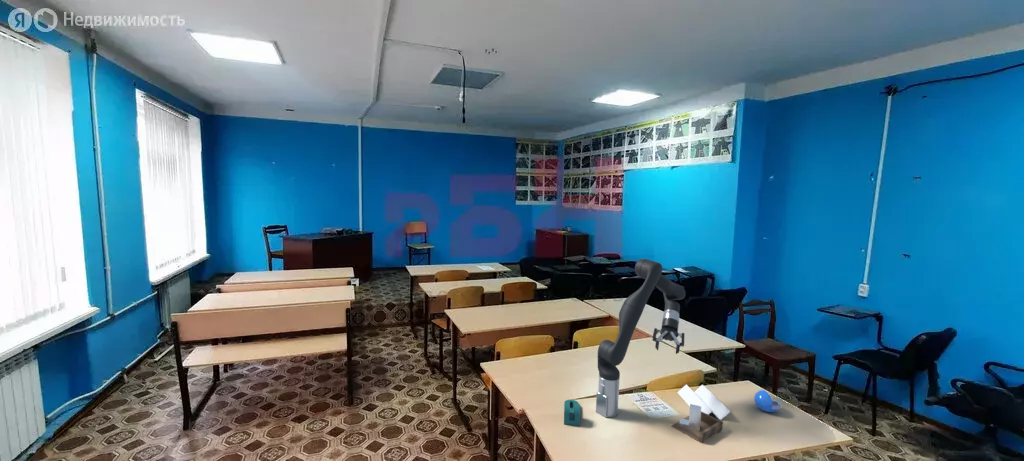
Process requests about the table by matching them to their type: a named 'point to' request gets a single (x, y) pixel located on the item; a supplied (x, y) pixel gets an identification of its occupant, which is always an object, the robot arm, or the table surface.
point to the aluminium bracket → (692, 418)
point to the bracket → (571, 413)
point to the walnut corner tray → (702, 428)
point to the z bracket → (704, 401)
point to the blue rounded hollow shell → (766, 402)
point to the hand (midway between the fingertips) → (666, 351)
